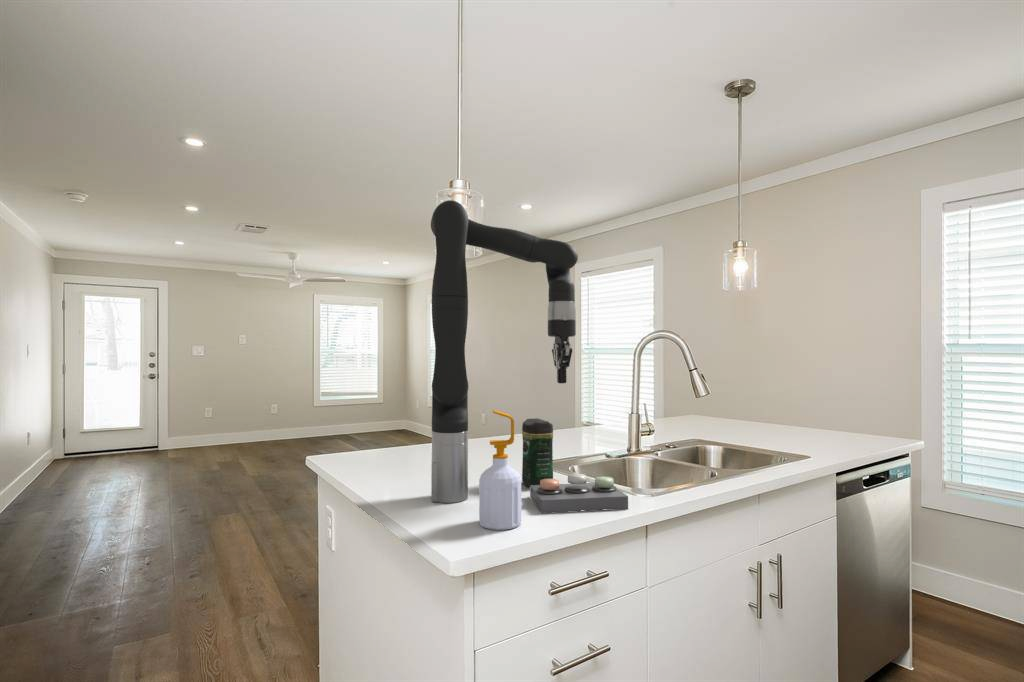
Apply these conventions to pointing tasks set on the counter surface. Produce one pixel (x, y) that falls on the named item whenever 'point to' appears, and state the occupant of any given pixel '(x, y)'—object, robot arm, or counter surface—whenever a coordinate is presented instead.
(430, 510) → the counter surface
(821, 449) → the counter surface
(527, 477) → the coffee jar
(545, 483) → the terracotta button
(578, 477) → the white button
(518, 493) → the soap bottle
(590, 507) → the button panel
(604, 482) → the sage button
